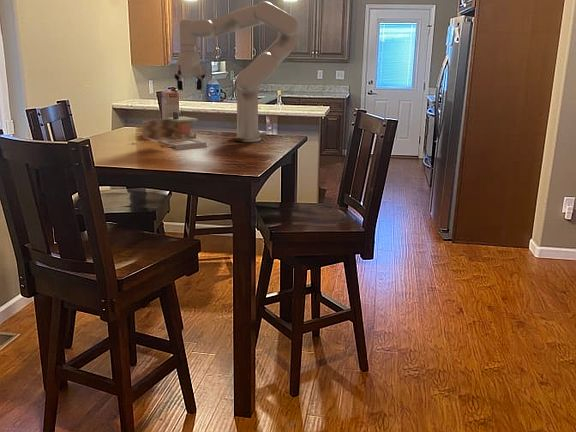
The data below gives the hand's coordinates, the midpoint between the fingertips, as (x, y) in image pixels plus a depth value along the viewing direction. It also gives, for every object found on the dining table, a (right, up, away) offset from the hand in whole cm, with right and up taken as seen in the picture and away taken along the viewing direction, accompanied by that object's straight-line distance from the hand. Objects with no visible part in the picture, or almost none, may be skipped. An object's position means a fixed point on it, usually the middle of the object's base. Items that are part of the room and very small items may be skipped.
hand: (189, 89), depth 248 cm
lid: (-4, -13, +3) cm, 14 cm away
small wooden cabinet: (-8, -23, +2) cm, 24 cm away
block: (-3, -21, +3) cm, 21 cm away
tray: (-1, -27, -12) cm, 29 cm away
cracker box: (-12, -18, +19) cm, 29 cm away
